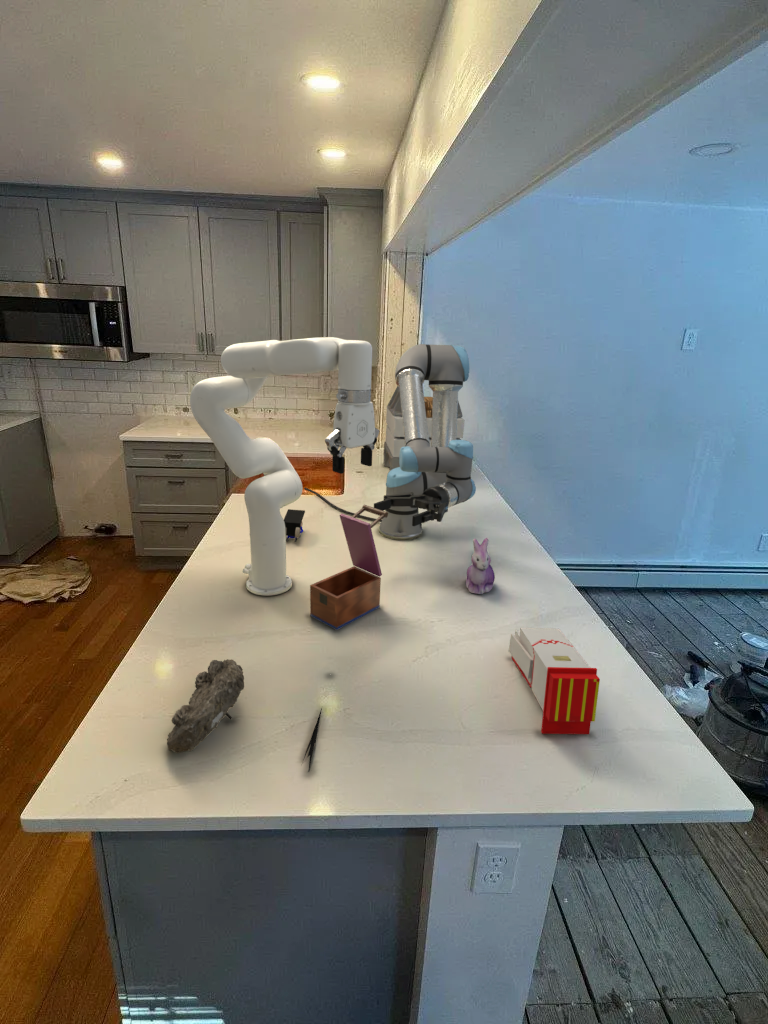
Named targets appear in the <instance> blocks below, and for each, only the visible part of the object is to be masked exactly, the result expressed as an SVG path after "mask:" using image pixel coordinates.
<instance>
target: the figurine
mask: <svg viewBox="0 0 768 1024" xmlns="http://www.w3.org/2000/svg"><path fill="white" fill-rule="evenodd" d="M472 544H473V553H472V555H471V559H470V561H471V565H470V566H469V567H468V568H467V570H466V579H465V587H466V589H467V590H468V592H469V593H472V594H476V595H477V594H478V595H483V594H485V593H489V592H490V591H491V590H492V589H493V588H494V587H493V586H494V584H495V579H496V577H495V576H496V575H495V570H494V568H493V566H492V565H491V562H492V559H491V555H490V553H489V550H488V547H489V538H488V537H485V538H484V539H483V541H482V543H481V544H480V543H479V540H478V539H477V538H473V540H472Z"/></svg>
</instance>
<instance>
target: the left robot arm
mask: <svg viewBox="0 0 768 1024" xmlns="http://www.w3.org/2000/svg"><path fill="white" fill-rule="evenodd" d="M220 365H221V367H222V370H223V371H224V372H225V373H226V374H227V375H224V376H222V375H221V376H215V377H208V378H205V379H202V380H199V381H198V382H197V383H196V384H195V385H194V386H193V387H192V389H191V391H190V395H189V404H190V410H191V413H192V416H193V417H194V419H195V421H196V422H197V424H198V425H199V426H200V428H201V429H202V430H203V431H204V432H205V434H206V435H207V436H208V437H209V439H210V440H211V441H212V443H213V445H214V446H215V448H216V450H217V451H218V452H219V454H220V456H221V458H222V459H223V460H224V461H225V463H226V465H227V467H228V468H229V469H230V471H231V473H232V474H234V476H236V477H237V478H239V479H249V478H253V477H256V476H259V475H262V474H263V476H261V477H259V478H255V479H254V480H252V481H251V482H250V483H248V485H247V486H246V488H245V491H244V496H243V498H244V503H245V507H246V510H247V518H248V524H249V525H248V526H249V544H250V545H249V546H250V563H245V565H244V568H243V569H242V574H244V575H248V579H246V582H245V586H246V589H247V591H248V592H250V593H252V594H254V595H257V596H268V597H269V596H276V595H281V594H283V593H286V592H288V590H290V589H291V588H292V586H293V579H292V578H291V577H290V576H289V575H287V542H286V538H287V536H286V533H285V523H284V518H283V515H282V514H281V510H282V509H283V508H284V507H286V506H289V505H291V504H293V503H294V502H296V501H299V499H300V498H301V496H302V494H303V490H304V488H303V487H304V486H303V482H302V480H301V477H300V476H299V474H298V472H297V470H296V469H295V468H294V466H293V465H292V462H291V461H290V460H289V458H288V456H287V455H286V454H285V452H284V451H283V449H282V448H281V446H279V444H278V443H277V442H276V441H274V440H273V439H271V438H269V437H257V438H250V437H249V436H248V434H247V433H246V432H245V430H244V429H243V427H242V425H241V424H240V423H239V422H238V420H236V419H235V418H233V417H232V416H231V415H229V414H228V413H227V412H226V411H225V410H229V409H230V410H231V409H235V408H239V407H244V406H247V405H248V404H249V403H251V402H252V401H253V400H254V398H255V397H256V396H257V394H258V393H259V391H260V390H261V388H262V387H263V386H264V384H265V383H266V381H267V380H268V378H271V377H273V378H274V377H282V376H290V375H292V376H293V375H308V374H309V375H310V374H319V373H325V372H333V371H337V393H336V394H335V398H336V399H337V403H336V405H335V409H334V417H333V426H332V427H333V428H332V432H331V433H330V434H329V435H328V436H327V437H325V439H324V442H325V445H326V448H327V450H328V452H329V453H330V455H331V456H332V465H331V467H332V472H334V473H337V474H341V475H342V474H344V473H345V457H344V456H343V455H344V453H345V451H346V450H347V449H355V448H360V447H361V448H360V464H361V465H363V466H366V467H372V465H373V450H374V449H375V445H376V444H377V442H378V437H379V435H380V429H378V428H377V427H376V421H375V420H376V418H375V410H374V404H373V401H372V400H371V397H372V373H373V371H372V369H373V346H372V344H371V342H370V341H367V340H361V339H359V340H358V339H344V338H340V337H333V336H327V337H325V336H323V337H322V336H321V337H305V338H298V339H288V340H278V339H270V340H269V339H268V340H260V341H259V340H258V341H247V342H238V343H233V344H231V345H229V346H227V347H226V348H225V349H224V350H223V351H222V353H221V356H220Z"/></svg>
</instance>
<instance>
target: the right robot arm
mask: <svg viewBox="0 0 768 1024" xmlns="http://www.w3.org/2000/svg"><path fill="white" fill-rule="evenodd" d="M469 376H470V357H469V355H468V352H467V350H466V348H465V347H463V346H461V345H455V344H454V345H453V344H426V343H419V344H415V345H413V346H411V347H409V348H407V350H406V351H404V352H403V353H402V354H401V356H400V357H399V359H398V361H397V364H396V367H395V372H394V378H395V379H394V380H395V384H396V387H397V386H398V387H399V389H400V399H401V409H402V419H403V429H404V439H405V447H402V448H401V449H400V453H399V465H400V467H397V468H394V469H392V470H391V471H390V470H388V473H387V475H386V480H385V481H386V482H385V487H386V488H385V495H383V500H379V501H378V502H374V503H373V508H376V509H379V510H382V511H385V512H388V517H387V518H385V517H384V518H383V519H382V520H381V521H379V522H378V523H379V525H378V533H379V534H380V535H381V536H382V537H385V538H387V539H389V540H395V541H410V540H415V539H418V538H420V537H421V536H422V535H423V524H424V523H428V522H430V521H431V522H433V521H435V520H436V522H438V523H441V522H442V520H443V518H444V516H445V514H446V513H448V511H449V508H452V507H453V506H456V505H459V504H462V503H466V502H468V500H471V499H472V498H474V496H475V494H476V491H477V486H476V483H475V481H474V480H473V478H472V468H473V460H474V444H473V443H472V442H471V441H469V440H465V439H461V440H456V435H457V409H458V402H459V392H460V390H461V389H462V388H464V383H465V382H467V381H468V380H469ZM425 381H428V387H429V388H430V390H431V391H432V397H433V404H432V434H431V447H430V442H429V434H428V426H427V417H426V409H425V401H424V397H425V395H424V394H425V393H424V387H423V385H424V384H425ZM303 490H305V491H307V492H309V493H312V494H314V495H315V496H317V497H319V498H320V499H322V500H323V501H324V502H325V503H326V504H328V505H329V506H331V507H332V508H333V509H335V510H338V511H340V512H342V513H343V514H346V515H349V516H353V515H354V514H356V512H351V511H349V510H346V509H343V508H341V507H339V506H337V505H335V504H333V503H332V502H330V501H329V500H328V499H326V498H325V497H324V496H322V495H321V494H320V493H318V492H316V491H315V490H313V489H310V488H307V487H304V488H303ZM419 509H420V510H421V509H422V510H425V511H423V512H420V513H419ZM356 518H360V519H364V520H368V521H372V522H374V521H375V520H376V519H377V518H374V517H370V516H365V515H362V514H360V515H359V516H357V517H356Z"/></svg>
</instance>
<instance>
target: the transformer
mask: <svg viewBox="0 0 768 1024" xmlns="http://www.w3.org/2000/svg"><path fill="white" fill-rule="evenodd" d="M424 401H425V409H426V417H427V426H428V434H429V442H430V447H431V434H432V404H433V396H424ZM385 414H386V415H385V423H386V428H385V438H384V442H383V466H384V467H388V468H389V471H391V470H392V469H394V468H397V467H400V465H399V453H400V449H401V448H402V447H405V439H404V429H403V419H402V409H401V399H400V389H399V387H398V386H397V385H396V388H395V390H394V392H393V394H392V395H391V398H390V400H389V402H388V404H387V405H386V413H385ZM464 429H465V419H464V418H463V411H462V408H461V405H460V402H459V401H458V409H457V435H456V440H462V439H463V438H464V431H465V430H464Z"/></svg>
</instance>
